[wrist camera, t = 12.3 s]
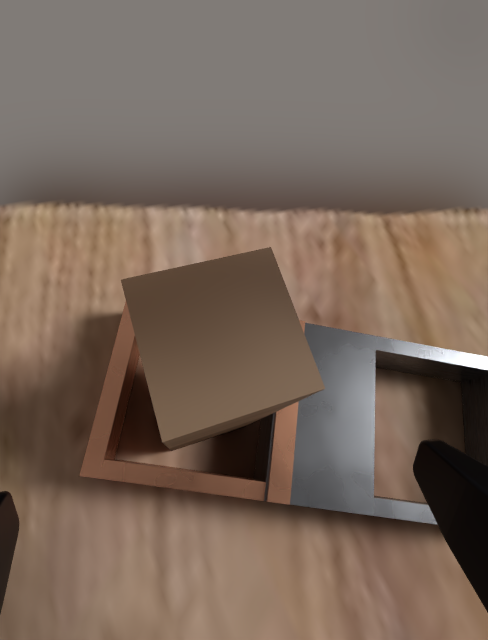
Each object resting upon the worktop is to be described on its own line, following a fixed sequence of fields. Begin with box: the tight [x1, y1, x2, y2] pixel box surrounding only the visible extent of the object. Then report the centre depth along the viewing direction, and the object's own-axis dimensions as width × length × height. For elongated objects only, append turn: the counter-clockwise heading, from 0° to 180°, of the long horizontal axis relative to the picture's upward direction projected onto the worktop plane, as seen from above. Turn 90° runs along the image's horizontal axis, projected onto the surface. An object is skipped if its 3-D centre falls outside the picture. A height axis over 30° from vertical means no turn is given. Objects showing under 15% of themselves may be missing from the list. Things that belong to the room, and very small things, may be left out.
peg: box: [121, 247, 325, 451], centre depth 15 cm, size 4×4×12 cm
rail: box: [79, 302, 488, 524], centre depth 20 cm, size 8×21×3 cm, turn 82°
